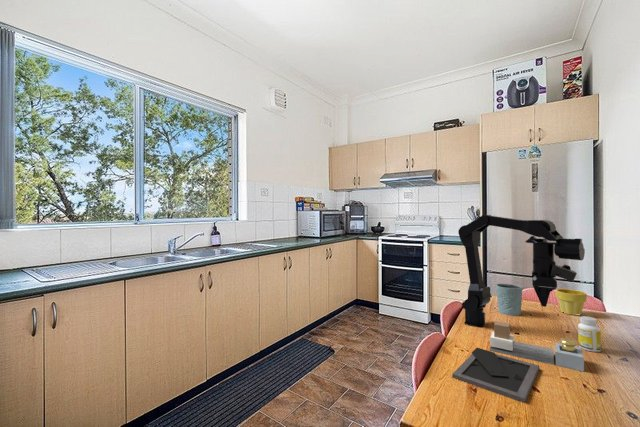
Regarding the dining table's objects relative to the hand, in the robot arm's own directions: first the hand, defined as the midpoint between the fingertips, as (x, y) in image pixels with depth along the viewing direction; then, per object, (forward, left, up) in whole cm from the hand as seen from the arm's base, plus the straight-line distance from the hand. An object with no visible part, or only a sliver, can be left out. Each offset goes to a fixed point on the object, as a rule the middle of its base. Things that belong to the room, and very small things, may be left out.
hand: (543, 303), depth 100 cm
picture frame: (-10, -32, -14) cm, 37 cm away
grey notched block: (+6, -13, -13) cm, 20 cm away
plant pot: (+10, +46, -14) cm, 49 cm away
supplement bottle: (+12, +3, -14) cm, 18 cm away
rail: (-6, -13, -13) cm, 20 cm away
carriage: (-11, -13, -13) cm, 22 cm away
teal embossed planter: (-12, +32, -14) cm, 37 cm away
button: (+6, -13, -11) cm, 18 cm away
